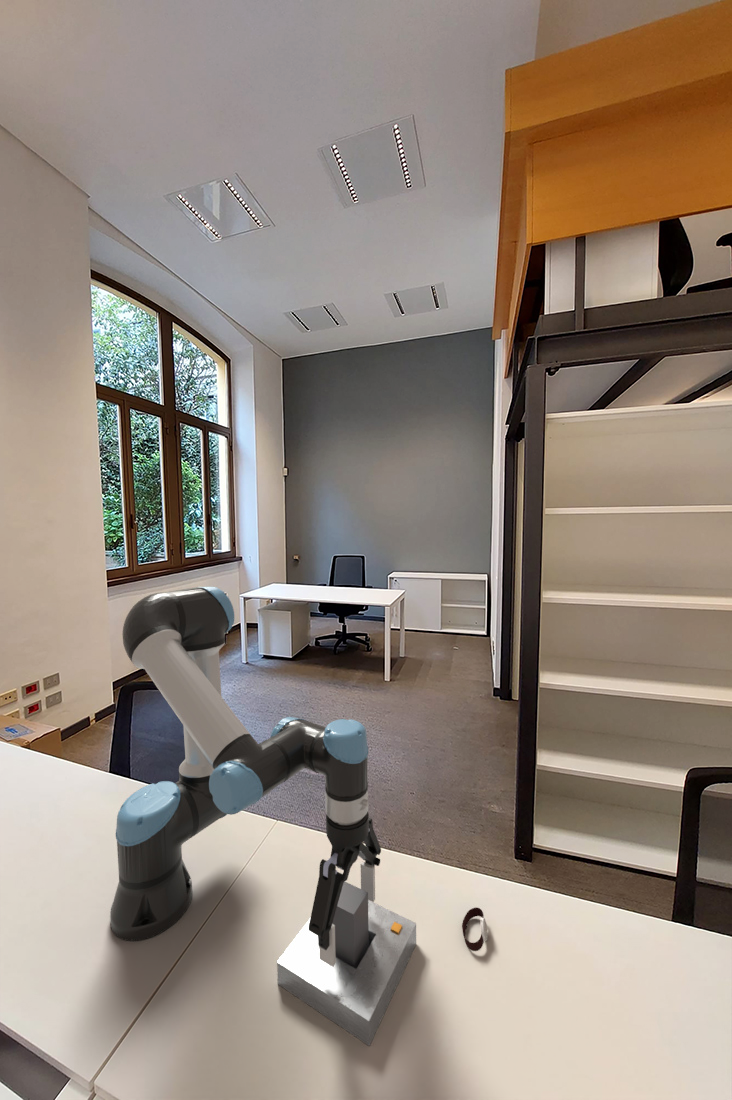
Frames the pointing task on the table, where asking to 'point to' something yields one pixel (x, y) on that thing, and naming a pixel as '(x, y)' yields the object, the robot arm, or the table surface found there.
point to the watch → (484, 934)
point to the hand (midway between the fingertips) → (349, 927)
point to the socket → (351, 973)
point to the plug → (351, 925)
